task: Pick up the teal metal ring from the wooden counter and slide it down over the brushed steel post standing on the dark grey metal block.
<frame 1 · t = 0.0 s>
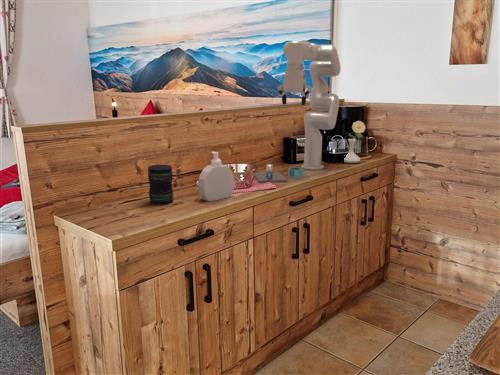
hand: (293, 104, 225), 37 cm above the cabinet, tool pointing down, fingers open, 9 cm apart
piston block: (269, 178, 237), on the cabinet
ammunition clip: (222, 191, 211), on the cabinet
soap bottle: (216, 198, 199), on the cabinet
ring: (295, 176, 241), on the cabinet
flower in vase: (352, 162, 278), on the cabinet
storage jar: (161, 202, 193), on the cabinet
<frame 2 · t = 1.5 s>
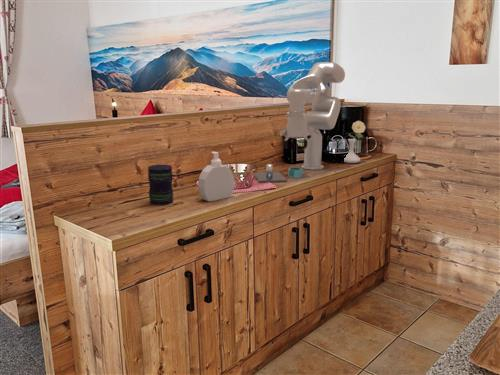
hand: (295, 148, 237), 15 cm above the cabinet, tool pointing down, fingers open, 9 cm apart
nothing on the cabinet moved.
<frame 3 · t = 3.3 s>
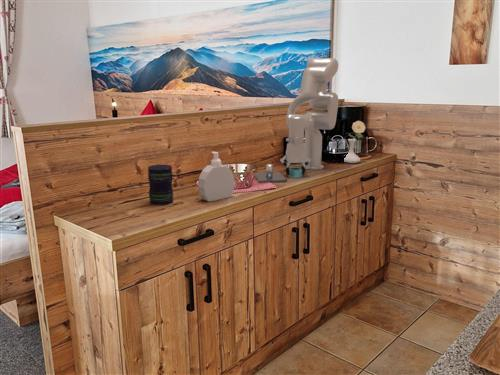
hand: (295, 174, 241), 1 cm above the cabinet, tool pointing down, fingers closed on ring, 7 cm apart
ring: (295, 176, 241), on the cabinet, touching gripper
everything else where it was.
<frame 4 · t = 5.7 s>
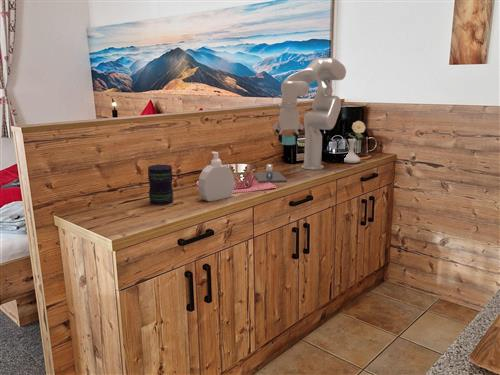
hand: (287, 141, 235), 18 cm above the cabinet, tool pointing down, fingers closed on ring, 7 cm apart
ring: (287, 143, 235), point 17 cm above the cabinet, touching gripper
everything else where it was.
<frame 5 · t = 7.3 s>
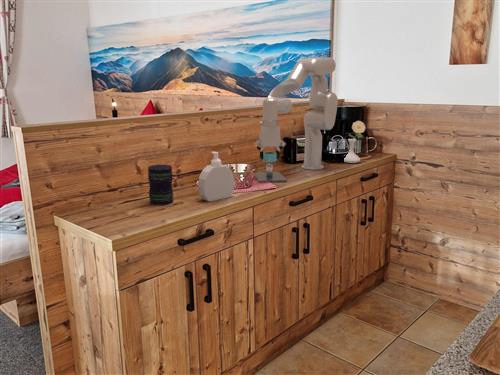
hand: (269, 158, 235), 10 cm above the cabinet, tool pointing down, fingers closed on ring, 7 cm apart
ring: (269, 160, 235), point 9 cm above the cabinet, touching gripper
everything else where it was.
when the fingers open (6 cm above the cabinet, at t = 8.5 s): ring drops 4 cm, resting on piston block.
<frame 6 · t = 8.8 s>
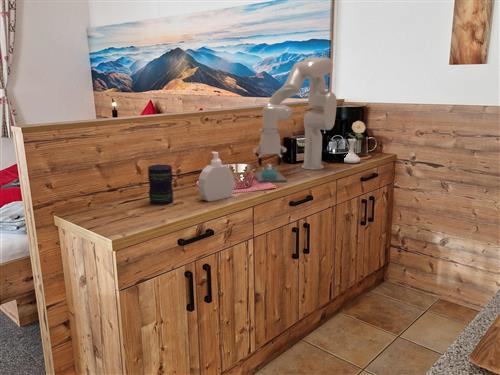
hand: (269, 165, 236), 7 cm above the cabinet, tool pointing down, fingers open, 9 cm apart
ring: (269, 176, 237), point 1 cm above the cabinet, touching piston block
everything else where it was.
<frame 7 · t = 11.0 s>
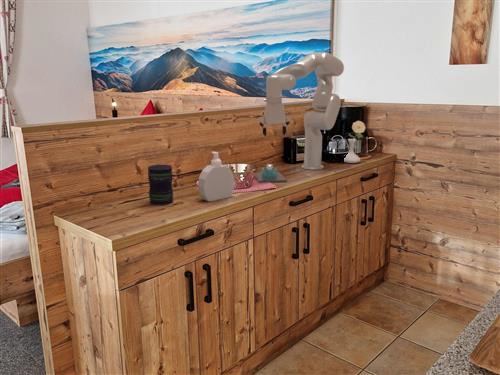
hand: (274, 135, 235), 22 cm above the cabinet, tool pointing down, fingers open, 9 cm apart
nothing on the cabinet moved.
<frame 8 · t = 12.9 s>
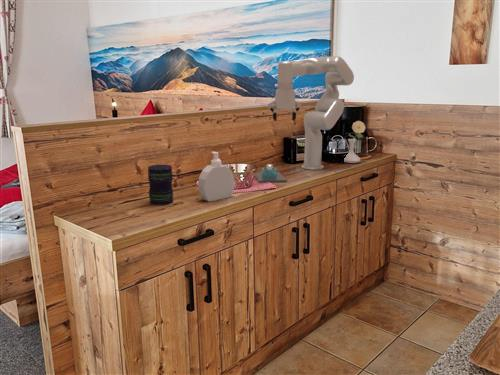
hand: (284, 120, 239), 28 cm above the cabinet, tool pointing down, fingers open, 9 cm apart
nothing on the cabinet moved.
at the end: ring 0.1 cm from the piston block (horizontally); ring point 1.0 cm above the cabinet; the gripper is holding nothing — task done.
